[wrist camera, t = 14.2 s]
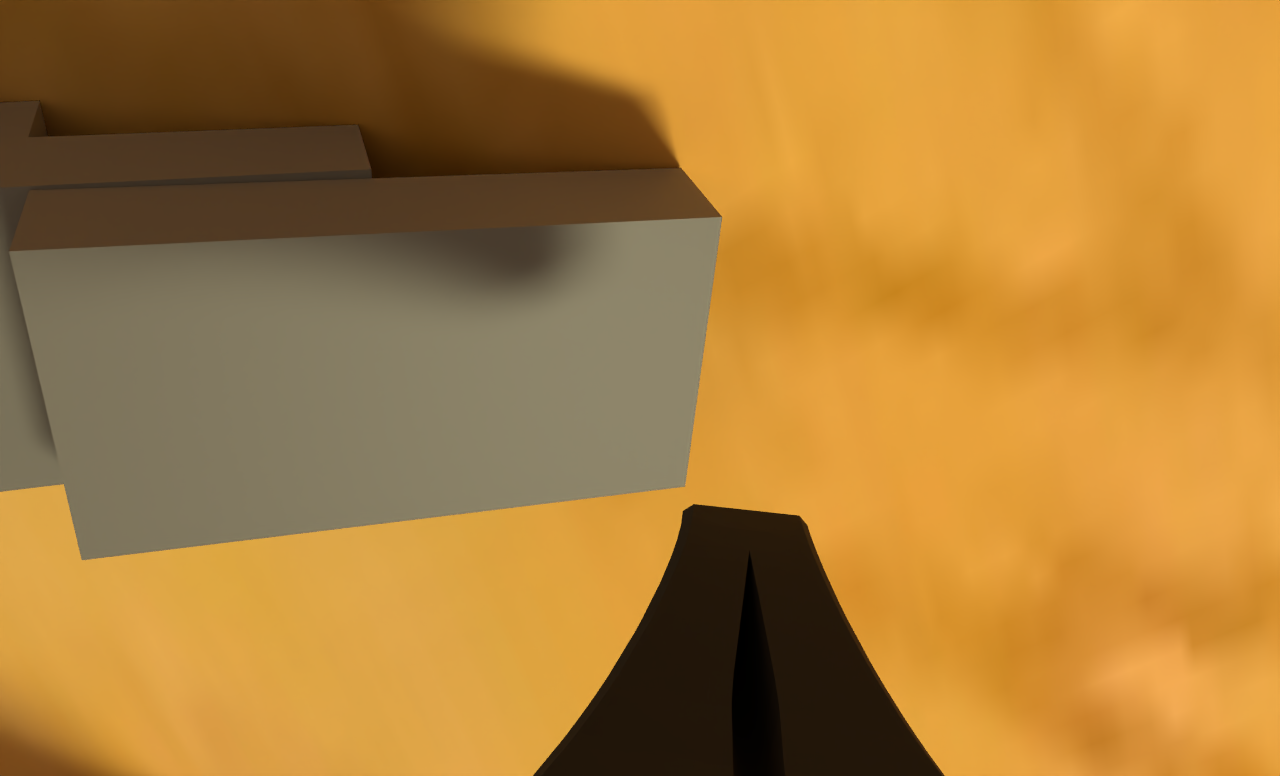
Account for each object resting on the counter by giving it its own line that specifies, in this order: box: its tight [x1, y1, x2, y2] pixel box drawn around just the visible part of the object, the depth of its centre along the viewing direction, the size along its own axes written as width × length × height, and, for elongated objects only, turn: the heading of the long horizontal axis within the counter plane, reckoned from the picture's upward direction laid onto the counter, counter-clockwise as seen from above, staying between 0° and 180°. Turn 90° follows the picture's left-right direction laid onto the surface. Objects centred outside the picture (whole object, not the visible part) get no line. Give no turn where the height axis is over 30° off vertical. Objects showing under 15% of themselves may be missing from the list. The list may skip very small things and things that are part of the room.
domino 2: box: [9, 168, 722, 560], centre depth 17 cm, size 2×5×9 cm
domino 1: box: [0, 125, 372, 492], centre depth 17 cm, size 2×5×9 cm
